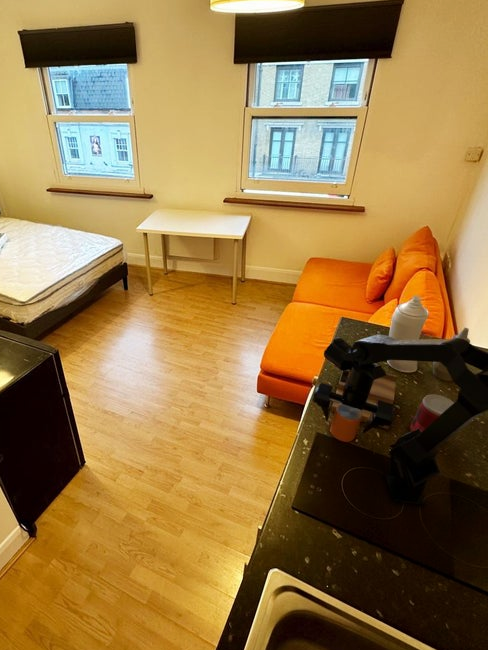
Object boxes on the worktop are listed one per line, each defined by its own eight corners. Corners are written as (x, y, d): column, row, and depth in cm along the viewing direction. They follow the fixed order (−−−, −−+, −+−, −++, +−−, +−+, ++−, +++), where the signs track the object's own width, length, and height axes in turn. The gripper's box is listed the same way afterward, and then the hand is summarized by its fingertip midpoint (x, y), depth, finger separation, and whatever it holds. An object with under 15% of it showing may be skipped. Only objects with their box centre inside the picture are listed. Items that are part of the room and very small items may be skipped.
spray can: (397, 377, 120) (424, 310, 106) (371, 359, 128) (393, 294, 114) (422, 368, 124) (452, 301, 110) (396, 350, 132) (420, 287, 118)
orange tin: (357, 443, 98) (365, 421, 94) (331, 440, 99) (338, 418, 95) (352, 425, 104) (359, 404, 99) (328, 422, 104) (334, 401, 100)
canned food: (447, 447, 97) (464, 418, 91) (414, 443, 98) (429, 413, 92) (437, 425, 103) (453, 396, 97) (406, 421, 105) (419, 392, 98)
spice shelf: (387, 429, 102) (393, 415, 99) (330, 410, 108) (335, 396, 105) (392, 389, 115) (397, 375, 112) (341, 375, 121) (345, 361, 118)
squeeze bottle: (458, 373, 122) (482, 326, 112) (457, 387, 116) (482, 339, 106) (430, 364, 125) (451, 318, 115) (428, 378, 120) (449, 331, 110)
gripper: (403, 373, 93) (385, 418, 102) (326, 353, 101) (315, 396, 109) (401, 401, 85) (381, 447, 94) (317, 377, 92) (306, 421, 101)
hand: (344, 425), depth 100 cm, fingers open, 9 cm apart
